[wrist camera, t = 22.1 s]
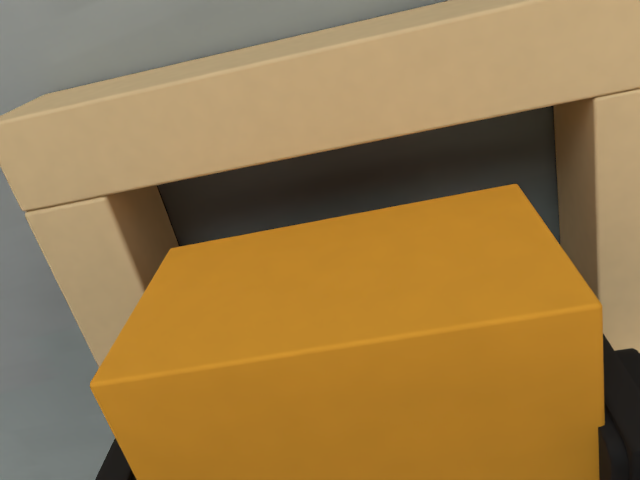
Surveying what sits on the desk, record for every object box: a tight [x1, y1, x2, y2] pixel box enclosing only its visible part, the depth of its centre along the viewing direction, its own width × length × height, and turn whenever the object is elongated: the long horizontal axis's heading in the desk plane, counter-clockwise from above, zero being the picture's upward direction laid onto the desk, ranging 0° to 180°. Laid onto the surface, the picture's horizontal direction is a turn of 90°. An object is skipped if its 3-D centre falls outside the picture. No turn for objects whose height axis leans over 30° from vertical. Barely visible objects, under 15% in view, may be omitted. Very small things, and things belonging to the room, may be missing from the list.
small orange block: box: [90, 184, 605, 480], centre depth 11 cm, size 7×7×4 cm
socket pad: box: [0, 0, 640, 367], centre depth 14 cm, size 13×13×2 cm
